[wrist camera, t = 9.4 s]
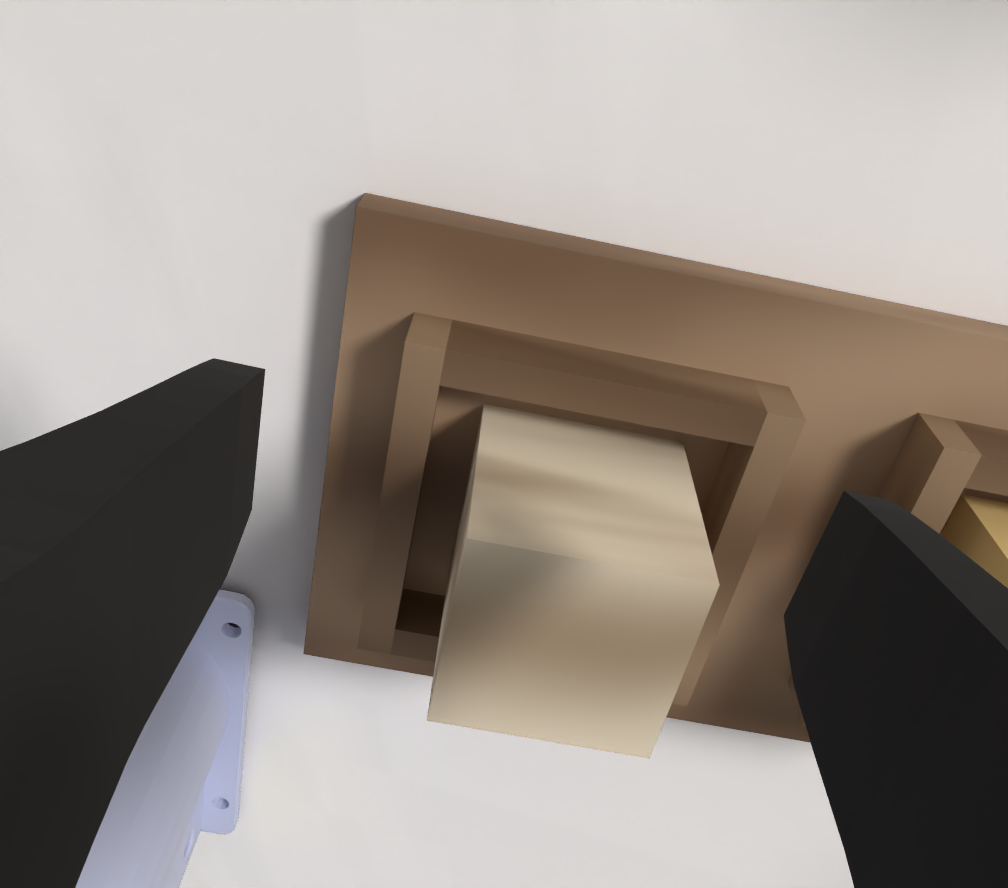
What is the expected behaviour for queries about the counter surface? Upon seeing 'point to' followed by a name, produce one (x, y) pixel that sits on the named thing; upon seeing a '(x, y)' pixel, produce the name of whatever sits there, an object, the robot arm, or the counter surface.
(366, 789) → the counter surface
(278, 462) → the counter surface
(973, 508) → the ochre block
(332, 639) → the puzzle board
